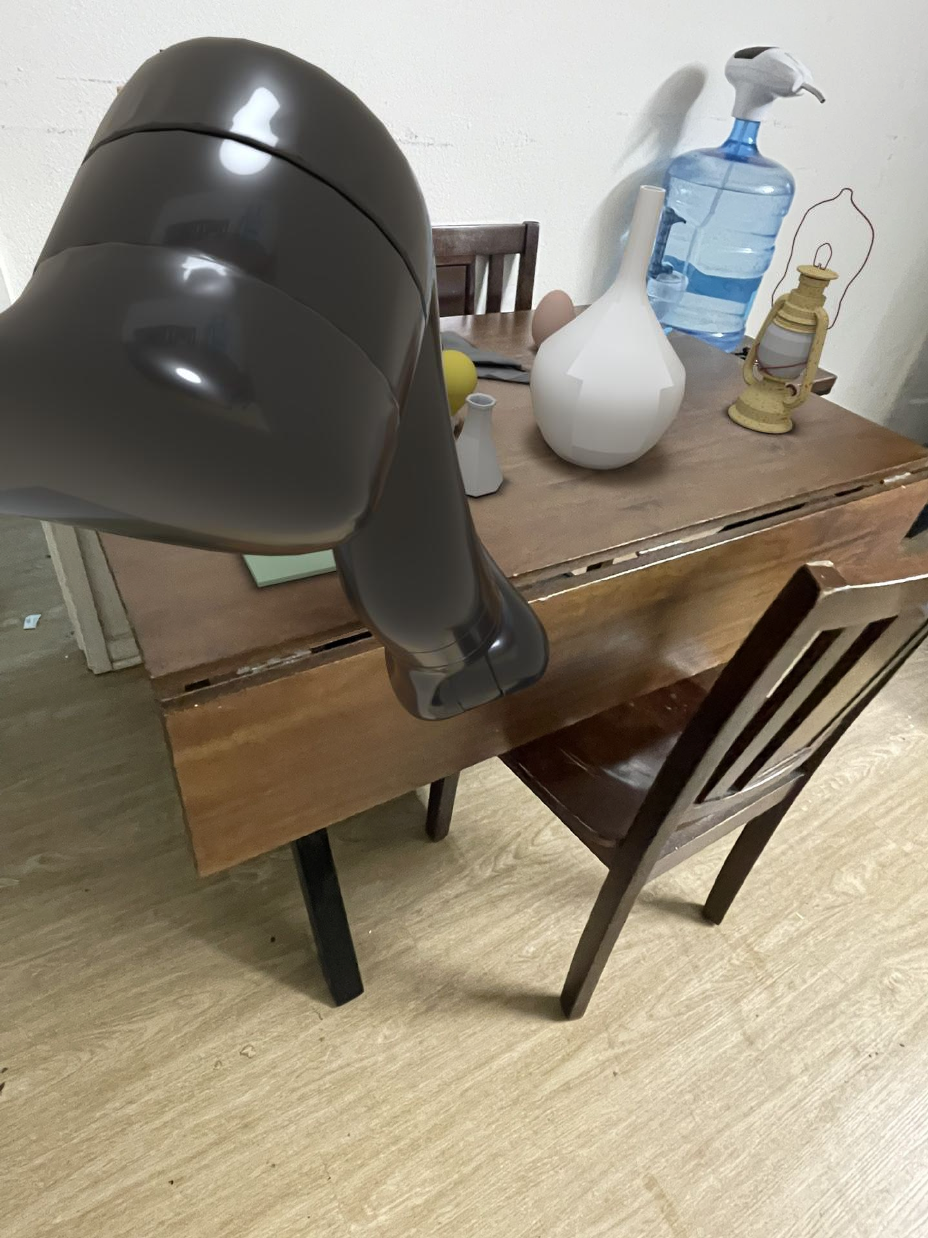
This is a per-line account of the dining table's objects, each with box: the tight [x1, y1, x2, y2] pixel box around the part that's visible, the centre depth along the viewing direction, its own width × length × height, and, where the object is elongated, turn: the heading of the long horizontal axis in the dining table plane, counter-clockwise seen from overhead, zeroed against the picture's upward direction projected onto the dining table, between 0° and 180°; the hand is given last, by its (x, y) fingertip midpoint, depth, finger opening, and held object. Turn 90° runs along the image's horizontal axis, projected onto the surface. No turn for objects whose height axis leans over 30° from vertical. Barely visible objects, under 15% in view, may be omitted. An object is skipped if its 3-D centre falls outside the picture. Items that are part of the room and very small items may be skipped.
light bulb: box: [442, 350, 478, 432], centre depth 93 cm, size 7×7×10 cm
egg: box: [530, 289, 577, 349], centre depth 118 cm, size 7×7×10 cm
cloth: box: [441, 331, 531, 384], centre depth 114 cm, size 26×14×2 cm, turn 42°
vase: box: [529, 185, 687, 471], centre depth 87 cm, size 18×18×30 cm
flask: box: [455, 392, 504, 497], centre depth 84 cm, size 7×7×10 cm
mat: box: [241, 550, 337, 588], centre depth 78 cm, size 22×14×1 cm, turn 28°
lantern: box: [727, 187, 875, 434], centre depth 100 cm, size 12×10×30 cm
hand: (312, 255), depth 57 cm, fingers open, 8 cm apart
